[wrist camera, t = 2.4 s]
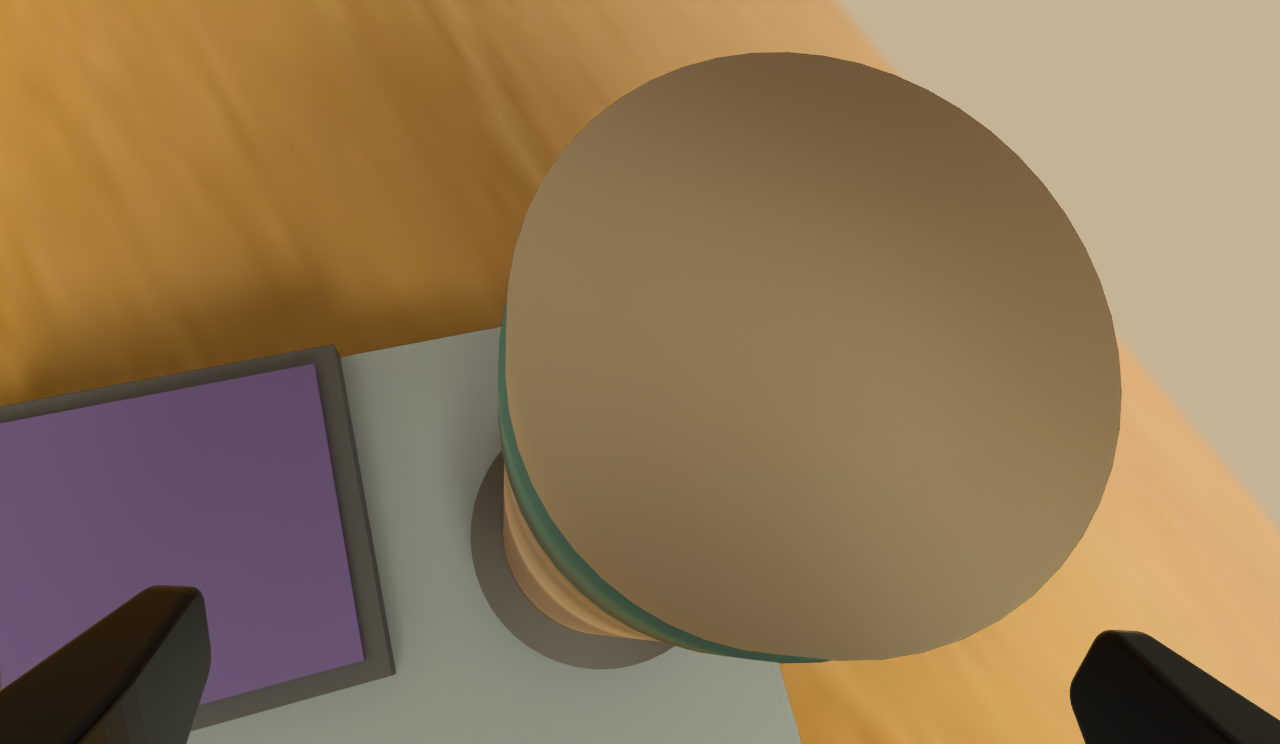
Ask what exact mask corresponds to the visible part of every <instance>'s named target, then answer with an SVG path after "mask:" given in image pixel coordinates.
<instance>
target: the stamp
mask: <svg viewBox="0 0 1280 744" xmlns="http://www.w3.org/2000/svg"><path fill="white" fill-rule="evenodd" d="M1121 393H1122V390H1121V376H1120V363H1119V352H1118V347H1117V342H1116V337H1115V332H1114V327H1113V321H1112V316H1111V313H1110V310H1109V307H1108V304H1107V301H1106V298H1105V295H1104V292H1103V288H1102V285H1101V282H1100V280H1099V277H1098V275H1097V273H1096V271H1095V269H1094V266H1093V264H1092V262H1091V259H1090V257H1089V255H1088V253H1087V251H1086V248H1085V246H1084V244H1083V243H1082V241H1081V239H1080V238H1079V236H1078V234H1077V233H1076V231H1075V229H1074V227H1073V226H1072V224H1071V222H1070V220H1069V219H1068V217H1067V215H1066V214H1065V212H1064V211H1063V210H1062V208H1061V207H1060V206H1059V204H1058V203H1057V201H1056V200H1055V199H1054V197H1053V196H1052V195H1051V193H1050V192H1049V191H1048V189H1047V188H1046V187H1045V185H1044V184H1043V183H1042V181H1041V180H1040V179H1039V178H1038V177H1037V176H1036V175H1035V174H1034V173H1033V172H1032V171H1031V169H1030V168H1028V166H1027V165H1026V164H1025V163H1024V162H1023V161H1022V160H1021V158H1020V157H1019V156H1018V155H1017V154H1016V153H1014V152H1013V151H1012V150H1011V149H1010V148H1009V147H1008V146H1007V145H1005V144H1004V143H1003V142H1002V141H1001V140H1000V139H999V138H997V136H996V135H994V134H993V133H992V132H991V131H990V130H989V129H987V128H986V127H984V126H983V125H982V124H980V123H979V122H978V121H976V120H975V119H973V118H972V117H971V116H969V115H968V114H966V113H965V112H964V111H962V110H961V109H960V108H958V107H956V106H955V105H953V104H951V103H949V102H948V101H946V100H944V99H942V98H941V97H939V96H937V95H935V94H934V93H932V92H930V91H929V90H927V89H924V88H922V87H920V86H918V85H916V84H913V83H911V82H909V81H907V80H904V79H902V78H900V77H898V76H896V75H893V74H890V73H887V72H884V71H881V70H878V69H875V68H872V67H869V66H866V65H863V64H860V63H855V62H850V61H846V60H841V59H836V58H831V57H827V56H820V55H810V54H799V53H789V52H781V53H749V54H742V55H734V56H727V57H720V58H715V59H711V60H707V61H704V62H700V63H696V64H693V65H689V66H685V67H682V68H679V69H677V70H675V71H672V72H670V73H667V74H665V75H662V76H660V77H658V78H655V79H653V80H650V81H649V82H647V83H645V84H643V85H642V86H640V87H638V88H637V89H635V90H633V91H631V92H630V93H628V94H626V95H625V96H623V97H621V98H619V99H618V100H617V101H615V102H614V103H613V104H612V105H610V106H609V107H608V108H607V109H605V110H604V111H603V112H601V113H600V114H599V115H598V116H596V117H595V118H594V119H593V120H591V121H590V122H589V123H588V124H587V125H586V126H585V127H584V129H583V130H582V131H581V132H580V133H579V134H578V135H577V136H576V137H575V138H574V139H573V140H572V141H571V142H570V143H569V144H568V145H567V146H566V147H565V149H564V150H563V152H562V153H561V155H560V156H559V157H558V159H557V160H556V162H555V163H554V164H553V166H552V167H551V169H550V170H549V171H548V173H547V174H546V176H545V177H544V179H543V181H542V183H541V185H540V187H539V189H538V191H537V193H536V195H535V197H534V199H533V201H532V203H531V205H530V207H529V208H528V210H527V213H526V216H525V219H524V222H523V225H522V228H521V231H520V234H519V237H518V240H517V243H516V246H515V249H514V255H513V260H512V266H511V271H510V277H509V283H508V289H507V301H506V304H505V309H504V315H503V321H502V326H501V332H500V337H499V356H498V420H499V430H500V440H501V449H502V451H501V452H500V453H499V454H498V455H497V457H496V458H495V460H494V461H493V463H492V464H491V466H490V467H489V469H488V471H487V472H486V475H485V477H484V479H483V481H482V483H481V485H480V488H479V491H478V494H477V497H476V500H475V503H474V509H473V514H472V520H471V538H470V540H471V551H472V559H473V564H474V568H475V573H476V576H477V579H478V581H479V584H480V587H481V590H482V592H483V594H484V596H485V598H486V600H487V601H488V603H489V605H490V607H491V609H492V610H493V611H494V613H495V614H496V616H497V617H498V618H499V620H500V621H501V623H502V624H503V625H504V626H505V627H506V628H507V629H508V630H509V631H510V632H511V633H512V634H513V635H514V636H515V637H516V638H518V639H519V640H520V641H521V642H523V643H524V644H525V645H526V646H528V647H529V648H531V649H533V650H534V651H536V652H538V653H539V654H541V655H543V656H545V657H547V658H550V659H552V660H555V661H557V662H559V663H563V664H567V665H570V666H574V667H578V668H587V669H616V668H622V667H629V666H633V665H636V664H639V663H642V662H646V661H648V660H651V659H653V658H655V657H657V656H659V655H661V654H663V653H665V652H666V651H668V650H670V649H671V648H673V647H674V646H677V647H681V648H684V649H688V650H692V651H696V652H700V653H707V654H714V655H721V656H728V657H735V658H742V659H751V660H759V661H767V662H776V663H811V662H825V661H831V660H834V661H849V660H883V659H888V658H894V657H900V656H906V655H911V654H917V653H923V652H926V651H929V650H932V649H935V648H938V647H941V646H944V645H947V644H950V643H953V642H956V641H959V640H962V639H965V638H967V637H968V636H970V635H972V634H974V633H976V632H978V631H980V630H982V629H984V628H986V627H988V626H990V625H991V624H993V623H995V622H997V621H999V620H1001V619H1002V618H1004V617H1005V616H1006V615H1008V614H1009V613H1010V612H1012V611H1013V610H1014V609H1016V608H1017V607H1018V606H1020V605H1021V604H1022V603H1024V602H1025V601H1027V600H1028V599H1029V598H1031V597H1032V596H1033V595H1034V594H1035V593H1036V592H1037V591H1038V590H1039V589H1040V588H1041V587H1042V586H1043V585H1044V584H1045V583H1046V582H1047V581H1048V580H1049V579H1050V578H1051V577H1052V576H1053V575H1054V574H1055V573H1056V572H1057V571H1058V570H1059V569H1060V568H1061V566H1062V565H1063V563H1064V562H1065V561H1066V559H1067V558H1068V556H1069V555H1070V554H1071V552H1072V551H1073V549H1074V548H1075V547H1076V545H1077V544H1078V543H1079V541H1080V540H1081V538H1082V537H1083V535H1084V533H1085V531H1086V529H1087V527H1088V525H1089V523H1090V521H1091V520H1092V518H1093V516H1094V514H1095V512H1096V510H1097V508H1098V506H1099V504H1100V502H1101V499H1102V496H1103V493H1104V490H1105V487H1106V484H1107V481H1108V478H1109V475H1110V472H1111V469H1112V466H1113V461H1114V456H1115V450H1116V445H1117V440H1118V435H1119V429H1120V411H1121Z"/></svg>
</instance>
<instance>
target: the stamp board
mask: <svg viewBox="0 0 1280 744" xmlns="http://www.w3.org/2000/svg"><path fill="white" fill-rule="evenodd" d="M500 332H501V327H497V328H492V329H486V330H481V331H476V332H471V333H465V334H460V335H455V336H450V337H444V338H439V339H434V340H429V341H423V342H418V343H413V344H408V345H402V346H397V347H392V348H386V349H381V350H376V351H371V352H365V353H360V354H355V355H350V356H344V357H340V354H339V353H338V351H337V349H336V348H335V346H334V344H333V345H328V346H323V347H317V348H312V349H307V350H301V351H296V352H291V353H285V354H280V355H274V356H269V357H264V358H258V359H253V360H248V361H242V362H237V363H231V364H226V365H221V366H215V367H210V368H205V369H199V370H194V371H189V372H183V373H178V374H172V375H167V376H162V377H156V378H151V379H146V380H140V381H135V382H130V383H124V384H119V385H113V386H108V387H103V388H97V389H92V390H87V391H81V392H76V393H71V394H65V395H60V396H54V397H49V398H44V399H38V400H33V401H28V402H22V403H17V404H11V405H6V406H1V407H0V690H1V689H3V688H4V687H5V686H7V685H8V684H10V683H11V682H13V681H14V680H15V679H17V678H18V677H20V676H21V675H23V674H24V673H25V672H27V671H28V670H30V669H31V668H33V667H34V666H35V665H37V664H38V663H40V662H41V661H43V660H44V659H45V658H47V657H48V656H50V655H51V654H53V653H54V652H55V651H57V650H58V649H60V648H61V647H63V646H64V645H65V644H67V643H68V642H70V641H71V640H73V639H74V638H75V637H77V636H78V635H80V634H81V633H82V632H84V631H85V630H87V629H88V628H90V627H91V626H92V625H94V624H95V623H97V622H98V621H100V620H101V619H102V618H104V617H105V616H107V615H108V614H110V613H111V612H112V611H114V610H115V609H117V608H118V607H120V606H121V605H122V604H124V603H125V602H127V601H128V600H130V599H131V598H132V597H134V596H135V595H137V594H138V593H140V592H141V591H143V590H144V589H146V588H148V587H151V586H154V585H170V586H192V587H195V588H198V589H199V590H200V591H201V592H202V594H203V597H204V600H205V608H206V615H207V622H208V629H209V637H210V644H211V653H212V654H211V666H210V671H209V676H208V679H207V682H206V685H205V688H204V692H203V695H202V698H201V701H200V704H199V707H198V710H197V713H196V716H195V719H194V722H193V725H192V728H191V731H190V735H189V738H188V741H187V744H802V743H801V739H800V736H799V732H798V729H797V726H796V722H795V719H794V715H793V712H792V708H791V705H790V701H789V698H788V694H787V691H786V687H785V684H784V681H783V677H782V674H781V670H780V667H779V663H776V662H767V661H759V660H751V659H742V658H735V657H728V656H721V655H714V654H707V653H700V652H696V651H692V650H688V649H684V648H681V647H677V646H674V647H673V648H671V649H670V650H668V651H666V652H665V653H663V654H661V655H659V656H657V657H655V658H653V659H651V660H648V661H646V662H642V663H639V664H636V665H633V666H629V667H622V668H616V669H587V668H578V667H574V666H570V665H567V664H563V663H559V662H557V661H555V660H552V659H550V658H547V657H545V656H543V655H541V654H539V653H538V652H536V651H534V650H533V649H531V648H529V647H528V646H526V645H525V644H524V643H523V642H521V641H520V640H519V639H518V638H516V637H515V636H514V635H513V634H512V633H511V632H510V631H509V630H508V629H507V628H506V627H505V626H504V625H503V624H502V623H501V621H500V620H499V618H498V617H497V616H496V614H495V613H494V611H493V610H492V609H491V607H490V605H489V603H488V601H487V600H486V598H485V596H484V594H483V592H482V590H481V587H480V584H479V581H478V579H477V576H476V573H475V568H474V564H473V559H472V551H471V540H470V538H471V520H472V514H473V509H474V503H475V500H476V497H477V494H478V491H479V488H480V485H481V483H482V481H483V479H484V477H485V475H486V472H487V471H488V469H489V467H490V466H491V464H492V463H493V461H494V460H495V458H496V457H497V455H498V454H499V453H500V452H501V451H502V449H501V440H500V430H499V420H498V356H499V337H500Z"/></svg>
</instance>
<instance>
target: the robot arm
mask: <svg viewBox="0 0 1280 744" xmlns="http://www.w3.org/2000/svg"><path fill="white" fill-rule="evenodd" d="M211 654H212V653H211V644H210V637H209V629H208V622H207V615H206V608H205V600H204V597H203V594H202V592H201V591H200V590H199V589H198V588H195V587H192V586H170V585H154V586H151V587H148V588H146V589H144V590H143V591H141V592H140V593H138V594H137V595H135V596H134V597H132V598H131V599H130V600H128V601H127V602H125V603H124V604H122V605H121V606H120V607H118V608H117V609H115V610H114V611H112V612H111V613H110V614H108V615H107V616H105V617H104V618H102V619H101V620H100V621H98V622H97V623H95V624H94V625H92V626H91V627H90V628H88V629H87V630H85V631H84V632H82V633H81V634H80V635H78V636H77V637H75V638H74V639H73V640H71V641H70V642H68V643H67V644H65V645H64V646H63V647H61V648H60V649H58V650H57V651H55V652H54V653H53V654H51V655H50V656H48V657H47V658H45V659H44V660H43V661H41V662H40V663H38V664H37V665H35V666H34V667H33V668H31V669H30V670H28V671H27V672H25V673H24V674H23V675H21V676H20V677H18V678H17V679H15V680H14V681H13V682H11V683H10V684H8V685H7V686H5V687H4V688H3V689H1V690H0V744H187V741H188V738H189V735H190V731H191V728H192V725H193V722H194V719H195V716H196V713H197V710H198V707H199V704H200V701H201V698H202V695H203V692H204V688H205V685H206V682H207V679H208V676H209V671H210V666H211ZM1070 700H1071V705H1072V709H1073V712H1074V714H1075V717H1076V720H1077V722H1078V725H1079V728H1080V730H1081V733H1082V736H1083V738H1084V741H1085V744H1280V720H1278V719H1277V718H1275V717H1273V716H1272V715H1270V714H1269V713H1267V712H1266V711H1264V710H1263V709H1261V708H1260V707H1258V706H1257V705H1255V704H1254V703H1252V702H1250V701H1249V700H1247V699H1246V698H1244V697H1243V696H1241V695H1240V694H1238V693H1237V692H1235V691H1234V690H1232V689H1231V688H1229V687H1227V686H1226V685H1224V684H1223V683H1221V682H1220V681H1218V680H1217V679H1215V678H1214V677H1212V676H1211V675H1209V674H1208V673H1206V672H1205V671H1203V670H1201V669H1200V668H1198V667H1197V666H1195V665H1194V664H1192V663H1191V662H1189V661H1188V660H1186V659H1185V658H1183V657H1182V656H1180V655H1178V654H1177V653H1175V652H1174V651H1172V650H1171V649H1169V648H1168V647H1166V646H1165V645H1163V644H1162V643H1160V642H1159V641H1157V640H1155V639H1154V638H1152V637H1151V636H1149V635H1147V634H1145V633H1142V632H1138V631H1123V630H1107V631H1103V632H1102V633H1100V634H1099V635H1098V636H1097V637H1096V638H1095V640H1094V642H1093V643H1092V645H1091V647H1090V649H1089V651H1088V652H1087V654H1086V656H1085V658H1084V660H1083V662H1082V663H1081V665H1080V667H1079V669H1078V671H1077V672H1076V674H1075V676H1074V678H1073V680H1072V682H1071V686H1070Z"/></svg>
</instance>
